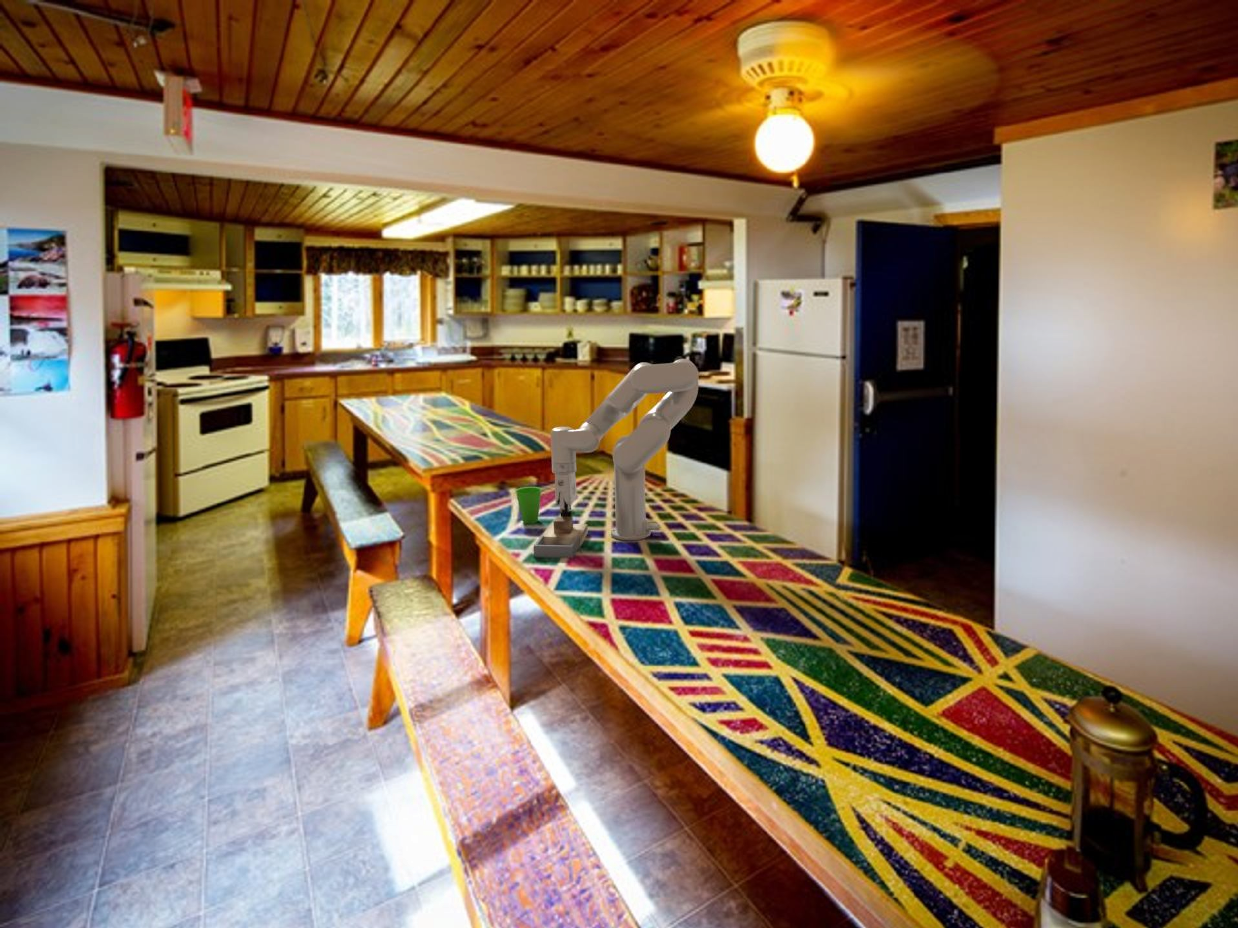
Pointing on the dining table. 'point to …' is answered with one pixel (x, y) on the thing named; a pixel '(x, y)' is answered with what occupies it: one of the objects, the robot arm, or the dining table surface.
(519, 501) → the cup
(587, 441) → the robot arm
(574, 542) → the bin
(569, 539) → the board
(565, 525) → the block
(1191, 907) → the dining table surface
